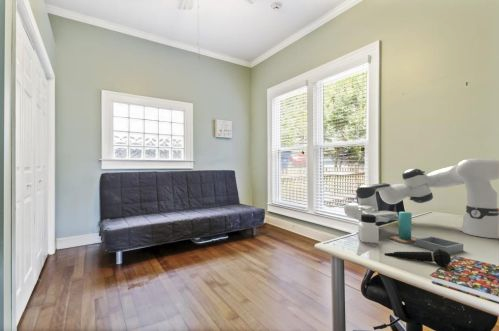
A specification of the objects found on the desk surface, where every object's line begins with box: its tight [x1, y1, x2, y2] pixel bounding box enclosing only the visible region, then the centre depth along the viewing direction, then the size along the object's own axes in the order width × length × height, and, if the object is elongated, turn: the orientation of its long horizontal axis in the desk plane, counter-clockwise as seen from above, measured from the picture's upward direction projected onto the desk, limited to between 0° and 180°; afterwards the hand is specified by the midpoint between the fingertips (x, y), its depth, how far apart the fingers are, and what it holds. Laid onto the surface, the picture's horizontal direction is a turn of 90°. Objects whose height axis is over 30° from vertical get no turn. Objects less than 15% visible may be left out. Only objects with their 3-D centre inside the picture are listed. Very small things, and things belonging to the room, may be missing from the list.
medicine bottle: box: [357, 214, 380, 244], centre depth 112 cm, size 7×7×12 cm
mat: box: [388, 235, 419, 245], centre depth 113 cm, size 12×8×1 cm, turn 114°
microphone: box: [384, 249, 452, 267], centre depth 88 cm, size 6×6×20 cm
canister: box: [398, 211, 413, 240], centre depth 113 cm, size 5×5×12 cm
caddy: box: [414, 236, 464, 255], centre depth 102 cm, size 12×12×3 cm
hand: (394, 219), depth 118 cm, fingers open, 8 cm apart
